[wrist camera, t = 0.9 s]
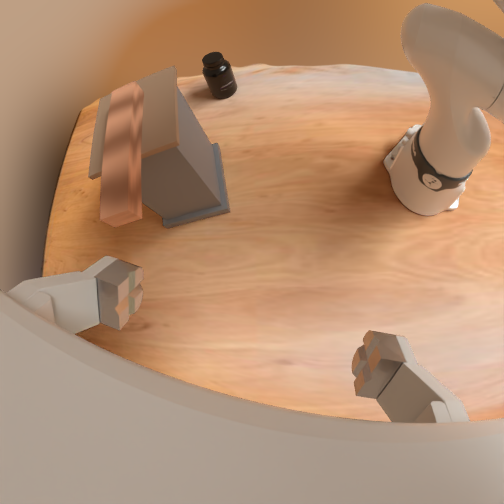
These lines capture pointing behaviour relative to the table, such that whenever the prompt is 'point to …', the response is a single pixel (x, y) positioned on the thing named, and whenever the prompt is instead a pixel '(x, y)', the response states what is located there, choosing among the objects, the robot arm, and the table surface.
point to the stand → (170, 155)
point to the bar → (122, 158)
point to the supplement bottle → (219, 75)
